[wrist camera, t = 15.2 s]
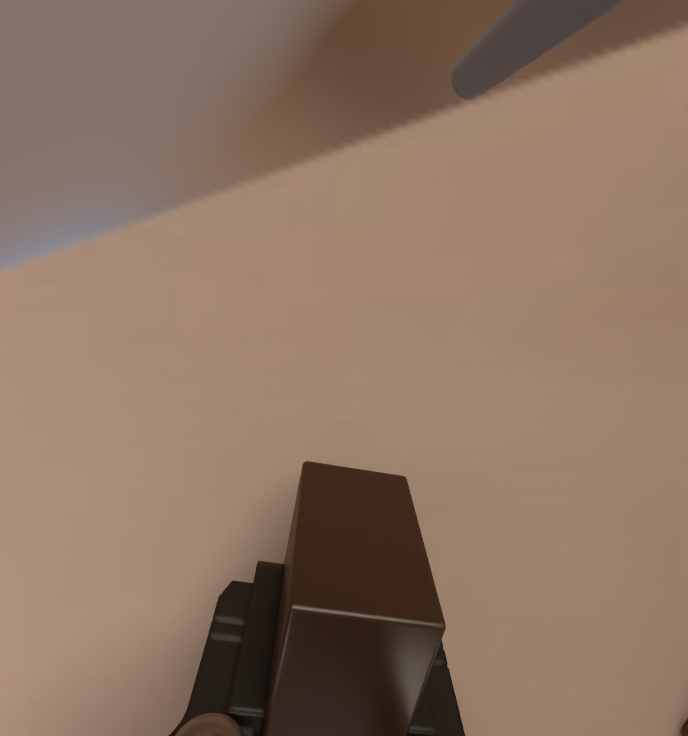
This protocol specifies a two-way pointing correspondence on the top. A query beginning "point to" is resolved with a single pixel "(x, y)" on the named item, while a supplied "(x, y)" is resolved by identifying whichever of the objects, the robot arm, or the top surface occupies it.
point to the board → (685, 730)
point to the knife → (352, 609)
